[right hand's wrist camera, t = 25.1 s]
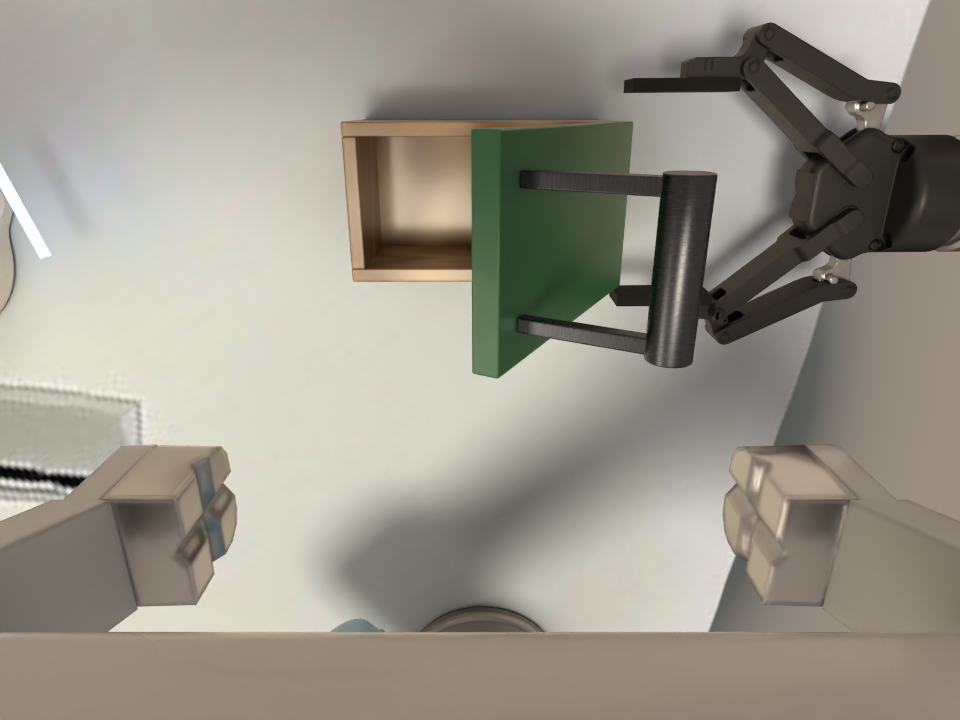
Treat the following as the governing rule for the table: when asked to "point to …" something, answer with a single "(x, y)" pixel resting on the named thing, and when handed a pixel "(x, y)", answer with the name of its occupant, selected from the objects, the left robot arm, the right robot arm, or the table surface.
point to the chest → (414, 196)
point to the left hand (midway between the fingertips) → (619, 197)
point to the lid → (577, 243)
